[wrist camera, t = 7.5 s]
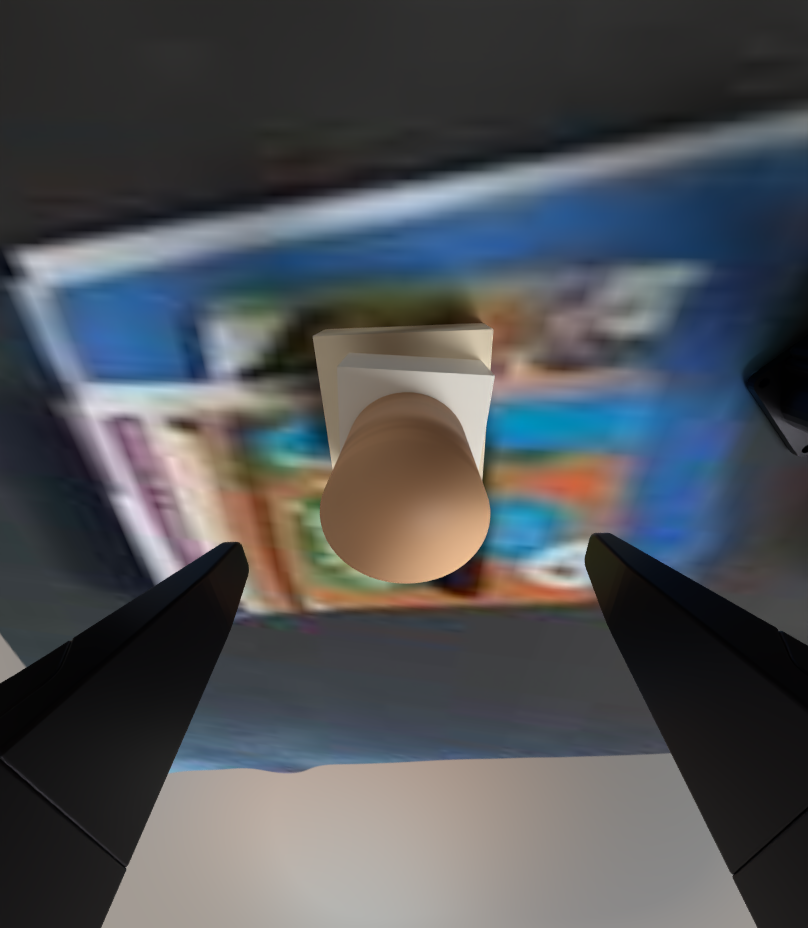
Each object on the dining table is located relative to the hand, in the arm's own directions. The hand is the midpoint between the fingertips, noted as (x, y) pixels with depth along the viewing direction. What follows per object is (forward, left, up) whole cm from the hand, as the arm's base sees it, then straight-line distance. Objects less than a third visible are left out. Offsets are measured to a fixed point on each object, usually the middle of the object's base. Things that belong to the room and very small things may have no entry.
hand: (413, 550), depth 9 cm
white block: (0, 0, -9) cm, 9 cm away
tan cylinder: (0, 0, -6) cm, 6 cm away
